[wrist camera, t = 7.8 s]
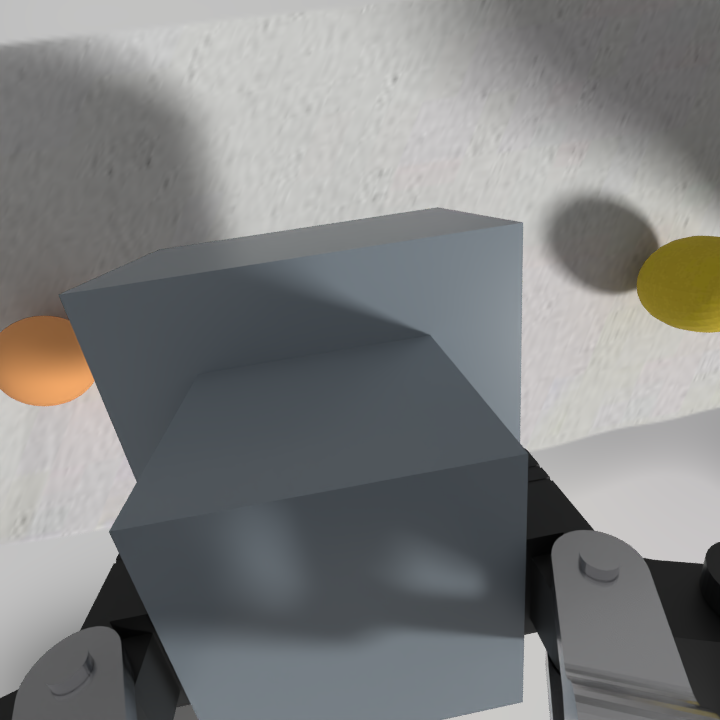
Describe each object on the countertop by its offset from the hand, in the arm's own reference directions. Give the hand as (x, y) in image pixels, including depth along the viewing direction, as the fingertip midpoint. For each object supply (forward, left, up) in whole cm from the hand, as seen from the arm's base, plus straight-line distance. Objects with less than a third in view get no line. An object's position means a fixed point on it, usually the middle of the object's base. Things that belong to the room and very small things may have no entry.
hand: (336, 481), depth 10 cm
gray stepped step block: (0, 0, -8) cm, 8 cm away
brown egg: (+15, 0, -16) cm, 22 cm away
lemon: (-23, +2, -19) cm, 30 cm away
